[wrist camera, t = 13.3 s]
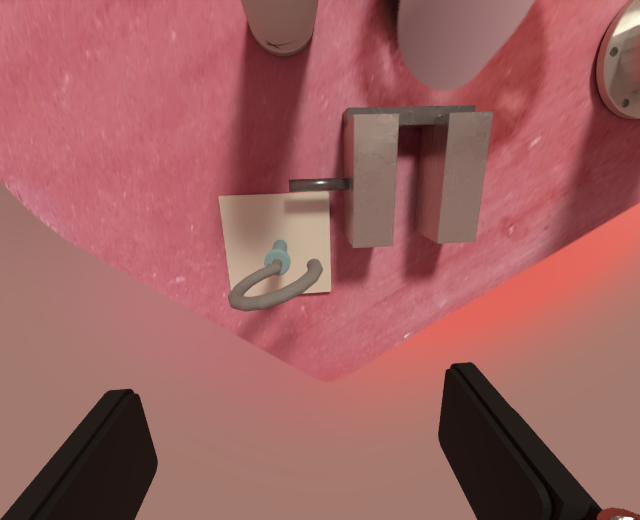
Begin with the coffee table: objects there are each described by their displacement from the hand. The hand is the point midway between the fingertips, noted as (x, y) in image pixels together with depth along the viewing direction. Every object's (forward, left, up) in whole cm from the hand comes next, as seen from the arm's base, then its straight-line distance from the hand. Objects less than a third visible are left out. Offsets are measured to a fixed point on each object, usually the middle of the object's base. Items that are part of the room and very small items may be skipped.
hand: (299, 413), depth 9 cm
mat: (+2, +2, -27) cm, 27 cm away
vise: (-9, -6, -27) cm, 29 cm away
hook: (+2, +2, -26) cm, 26 cm away
